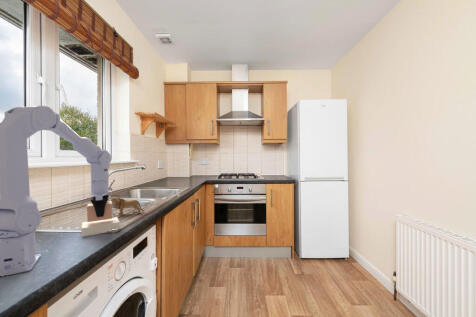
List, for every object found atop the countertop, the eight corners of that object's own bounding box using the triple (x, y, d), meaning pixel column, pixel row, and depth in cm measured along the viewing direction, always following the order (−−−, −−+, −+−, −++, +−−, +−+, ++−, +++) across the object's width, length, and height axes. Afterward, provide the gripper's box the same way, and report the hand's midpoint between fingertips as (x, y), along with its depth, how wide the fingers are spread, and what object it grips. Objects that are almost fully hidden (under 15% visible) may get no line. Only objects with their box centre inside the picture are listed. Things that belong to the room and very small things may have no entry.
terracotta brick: (112, 218, 83) (111, 203, 83) (87, 222, 79) (87, 206, 79) (112, 215, 87) (112, 201, 87) (88, 218, 83) (88, 203, 83)
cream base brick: (119, 230, 83) (119, 222, 83) (81, 237, 77) (81, 228, 77) (117, 225, 90) (117, 216, 90) (82, 231, 83) (82, 222, 83)
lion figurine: (110, 217, 100) (110, 198, 100) (110, 214, 104) (110, 196, 104) (144, 212, 107) (144, 195, 107) (143, 210, 112) (142, 193, 112)
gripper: (111, 182, 79) (112, 218, 79) (112, 178, 91) (112, 209, 92) (88, 183, 75) (89, 221, 75) (92, 179, 88) (92, 211, 88)
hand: (100, 215), depth 83 cm, fingers closed on terracotta brick, 4 cm apart
